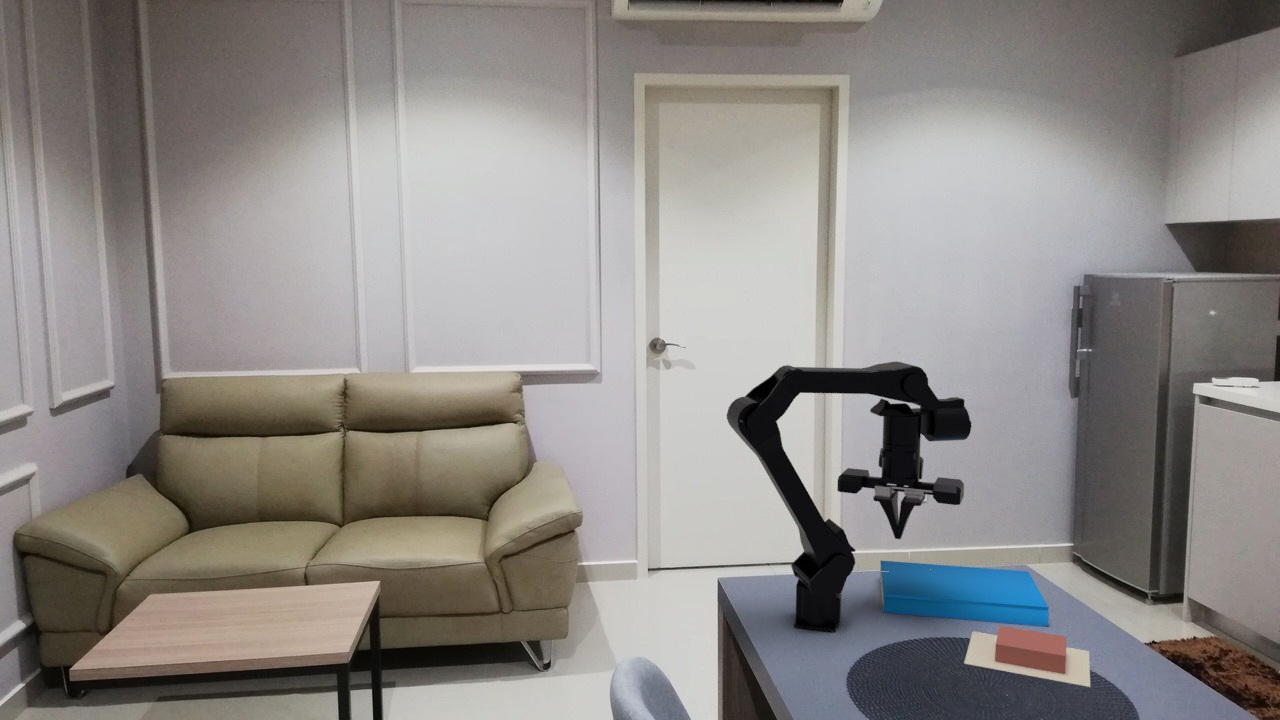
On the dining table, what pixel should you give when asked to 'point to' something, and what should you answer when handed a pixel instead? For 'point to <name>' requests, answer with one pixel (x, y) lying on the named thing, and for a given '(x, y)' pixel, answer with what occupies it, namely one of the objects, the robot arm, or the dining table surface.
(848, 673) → the dining table surface
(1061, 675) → the mat
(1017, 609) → the book
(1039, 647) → the card box
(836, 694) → the dining table surface
